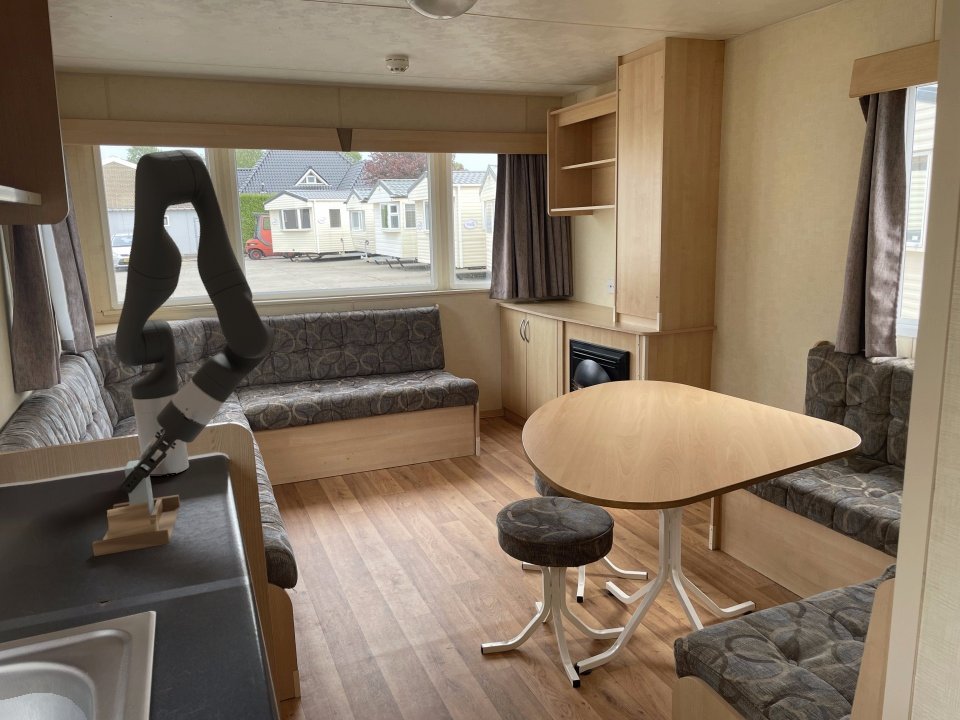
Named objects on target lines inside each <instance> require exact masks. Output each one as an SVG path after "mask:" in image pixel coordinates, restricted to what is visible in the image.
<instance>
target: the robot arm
mask: <svg viewBox="0 0 960 720" xmlns="http://www.w3.org/2000/svg"><path fill="white" fill-rule="evenodd" d="M134 174H135V175H134V176H135V177H134V180H135V181H134V216H133V217H134V218H133V220H134V222H133V231H132V239H131V247H130V252H129V257H128V263H127V271H126V272H127V274H126V283H125V292H124V298H123V299H124V300H123V305H122V309H121V313H120V316H119V320H118V324H117V329H116V333H115V345H114V346H115V351H116V356H117V358H118V360H119V362H120V363H122V365H124V366H127V367H139V366H146V365H152V364H153V365H154V367H153V369H152V370H151V371H150V372H149V373H148V374H146V375H145V376H144V377H142V378H140V379H139V380H136V381H135V382H134V383H132V385H131V387H130V392H131V397H132V405H133V412H134V416H135V417H134V418H135V422H136V423H135V425H136V430H137V436H138V437H137V439H138V443H139V450H140V455H139V457H138V459H137V460H140V461H139V462H138V464H137V465H136V466H134V467H133V468H134V469H133V470H132V472H131V473H130V474H129V475H128V476H127V477H126V476H124V479H123V481H121V483H120V485H119V489H120V490H122V491H123V492H125V493H126V494H128V493H131V492H132V491H133V490H134V489H135V488H136V486H137V485H138V484H139V483H140V482H141V481H142V479H143V478H147V477H148V476H149V474H167V473H176V474H178V473H182V472H183V471H185V470H187V469H189V467H190V464H189V456H188V448H187V443H188V444H190V443H193V442H194V441H195V440H196V438H197V437H198V436H199V435H200V434H201V432H203V431H204V429H205V428H206V427H207V425H209V423H210V422H211V421H213V419H214V418H215V416H216V415H217V414H218V413H219V411H220V409H221V407H222V406H223V405H224V403H225V402H226V401H227V400H228V398H230V396H231V395H232V394H233V392H234V391H235V390H236V389H237V388H238V386H239V385H240V384H241V382H242V381H243V380H244V379H245V378H246V377H247V376H248V375H249V374H250V373H252V371H254V370H255V369H256V368H257V367H258V366H259V365H260V364H261V362H263V360H264V359H266V358H267V356H268V355H269V354H270V353H271V351H272V350H273V347H274V345H275V340H276V338H275V337H276V336H275V332H274V331H273V329H272V327H271V326H270V325H269V324H267V323H266V322H265V321H262V319H261V317H260V315H259V313H258V311H257V308H256V306H255V304H254V302H253V293H252V290H251V287H250V285H249V283H248V280H247V278H246V276H245V274H244V272H243V270H242V268H241V265H240V264H239V262H238V261H239V260H238V259H237V257H236V254H235V252H234V250H233V247H232V244H231V241H230V239H229V235H228V231H227V228H226V225H225V221H224V217H223V213H222V209H221V207H220V206H221V205H220V204H219V199H218V197H217V194H216V190H215V186H214V184H213V181H212V178H211V175H210V171H209V170H208V168H207V165H206V163H205V162H204V160H203V159H202V157H201V156H200V155H199V153H197V152H196V151H194V150H191V149H175V150H163V151H162V150H161V151H153V152H148V153H145V154H143V155H142V156H140V157H139V158H138V161H137V164H136V167H135V173H134ZM188 203H189V204H191V205H192V207H193V209H194V211H195V213H196V215H197V217H198V223H199V238H198V239H199V240H198V246H197V255H196V258H197V259H196V265H197V271H198V274H199V277H200V280H201V282H202V284H203V286H204V287H203V288H204V289H205V291H206V293H207V295H208V297H209V299H210V301H211V303H212V305H213V307H214V308H215V312H216V314H217V318H218V322H219V326H220V329H221V331H222V334H223V337H224V339H225V341H226V344H225V345H224V346H223V348H222V349H220V351H219V352H218V353H217V354H215V355H213V356H211V357H209V358H208V359H207V360H206V361H205V362H204V363H203V364H202V365H201V366H200V367H199V368H198V370H197V371H196V372H195V373H194V374H193V375H192V377H191V378H190V379H189V380H188V381H187V382H186V383H185V384H183V385H182V387H181V388H179V386H178V385H179V378H178V377H179V376H178V368H177V366H178V365H177V357H176V356H177V355H176V345H175V337H174V332H173V330H172V326H171V325H170V324H169V322H168V321H167V320H165V319H162V318H161V319H159V318H158V319H151V320H149V319H150V317H151V316H152V315H154V313H155V312H157V310H158V309H160V308H161V306H163V304H165V303H166V302H167V301H168V300H169V299H170V298H171V296H172V295H173V294H174V293H175V291H176V289H177V287H178V284H179V280H180V275H181V271H182V265H183V264H182V263H183V258H182V254H181V251H180V249H179V247H178V245H177V243H176V241H174V239H173V238H172V236H171V235H170V234H169V232H168V230H167V229H166V227H165V216H166V211H167V209H168V208H169V207H171V206H178V205H183V204H188ZM142 464H145V465H147V466H148V470H146V469H144V468H143V467H141V466H142Z"/></svg>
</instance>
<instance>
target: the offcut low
mask: <svg viewBox="0 0 960 720" xmlns="http://www.w3.org/2000/svg"><path fill="white" fill-rule="evenodd" d="M150 522H151V524H150V525H145V526H140V527H136V528H131V529H127V530H122V531H117V532H113V533H110V531H109V530H108V529H107V530H108V531H106V532H107V537H108V539H112V538H118V537H125V536H131V535H137V534H143V533H149V532H155V531H159V528H158V522H157V517H156V518H150Z"/></svg>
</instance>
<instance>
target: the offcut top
mask: <svg viewBox="0 0 960 720" xmlns="http://www.w3.org/2000/svg"><path fill="white" fill-rule="evenodd" d="M106 513H107V515H106V517H107V523H108V528H109V531H110V533H113V532H117V531H122V530H127V529H131V528H136V527H140V526H145V525H150V524H151V522H150V515H149V509H148V502H145V503H140V504H135V505H130V506H126V507H121V508H116V509H113V508H112V509H108V510H106Z"/></svg>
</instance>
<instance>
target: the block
mask: <svg viewBox="0 0 960 720" xmlns="http://www.w3.org/2000/svg"><path fill="white" fill-rule="evenodd" d="M139 461H140V460H138V459H137V460H130V461H129V460H128V462H127V463H126V466H125V467H124V474H125V476H126V477H127V476H128V475H129V474H130V473H131V472H132V470H133V469H134V468H133V467H134V466H136V465H137V464H138V462H139ZM141 467H143V468H144V469H146V470H148V466H147V465H145V464H142V466H141ZM125 476H124V477H125ZM127 494H128V499H129V500H128V502H130V505H135V504H140V503H145V502H148V509H149V515H150V518H151V514H152V512H153V509H154V501H153V498H154V494H153V489H152V483H151V477H150V475H149V476H148V477H147V478H143V479H142V481H141V482H140V483H139V484H138V485H137V486H136V488H135V489H134V490H133V491H132V492H131V493H127Z"/></svg>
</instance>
